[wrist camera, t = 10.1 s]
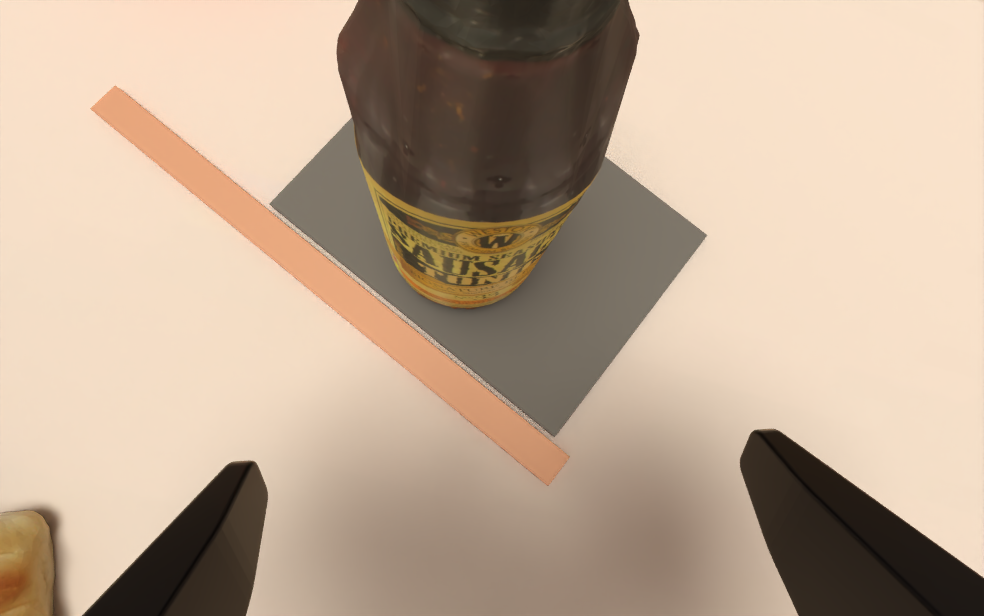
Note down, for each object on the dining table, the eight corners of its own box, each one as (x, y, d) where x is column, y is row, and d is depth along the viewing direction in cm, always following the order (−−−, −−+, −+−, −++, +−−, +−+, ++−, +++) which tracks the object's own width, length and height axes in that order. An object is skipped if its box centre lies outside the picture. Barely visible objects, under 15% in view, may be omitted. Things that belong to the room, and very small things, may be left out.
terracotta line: (568, 456, 22) (569, 456, 22) (546, 485, 22) (548, 486, 22) (119, 89, 24) (115, 85, 24) (94, 112, 24) (90, 108, 23)
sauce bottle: (400, 322, 23) (8, -158, 3) (388, 185, 24) (37, -841, 4) (550, 307, 23) (1038, -189, 4) (532, 173, 24) (840, -792, 5)
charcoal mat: (704, 237, 24) (707, 235, 24) (553, 436, 22) (554, 436, 22) (437, 32, 25) (437, 27, 25) (271, 206, 23) (269, 203, 23)
